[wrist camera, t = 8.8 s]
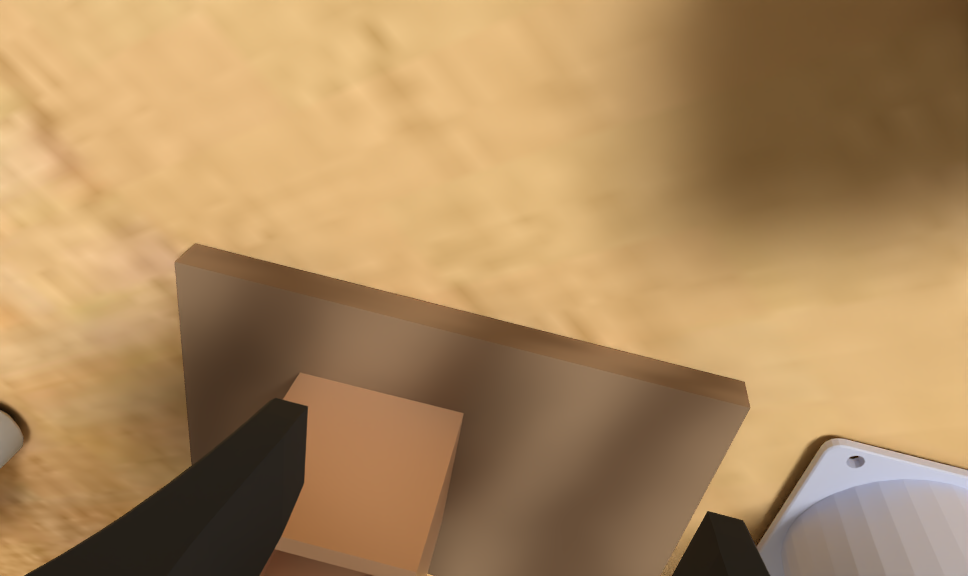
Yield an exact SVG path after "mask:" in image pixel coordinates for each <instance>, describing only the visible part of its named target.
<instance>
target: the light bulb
mask: <svg viewBox="0 0 968 576" xmlns="http://www.w3.org/2000/svg"><path fill="white" fill-rule="evenodd" d="M23 439H24V437H23V435H22V432H21V430H20V428H19V426H18V425H17V424H16V422H15V420H14V419H13V418H12V416H11V415H9V414H8V413H7V412H5V411H3V410H1V409H0V468H2V467H3V466H4V465H5V464H6V463H7V462H8V461H9V460H10V459H11V458H12V457H13V456H14V455H15V454H16V453H17V452H18V451H19V450H20V449H21V448H22V446H23Z"/></svg>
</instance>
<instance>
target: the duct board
mask: <svg viewBox="0 0 968 576" xmlns="http://www.w3.org/2000/svg"><path fill="white" fill-rule="evenodd" d="M175 272H176V284H177V296H178V307H179V319H180V331H181V343H182V355H183V367H184V379H185V390H186V402H187V414H188V426H189V438H190V450H191V462H192V465H193V464H194V463H196V462H197V461H198V460H200V459H201V458H202V457H203V456H205V455H206V454H207V453H209V452H210V451H211V450H212V449H214V448H215V447H216V446H217V445H218V444H220V443H221V442H222V441H223V440H224V439H226V438H227V437H228V436H229V435H231V434H232V433H233V432H234V431H235V430H236V429H238V428H239V427H240V426H241V425H242V424H243V423H245V422H246V421H247V420H248V419H249V418H250V417H252V416H253V415H254V414H255V413H256V412H257V411H258V410H260V409H261V408H262V407H263V406H264V405H265V404H266V403H267V402H269V401H270V400H272V399H274V398H278V399H282V400H283V398H284V397H285V395H286V394H287V392H288V391H289V389H290V387H291V386H292V384H293V383H294V381H295V380H296V378H297V376H298V375H299V373H304V374H308V375H312V376H316V377H320V378H324V379H328V380H332V381H336V382H340V383H344V384H348V385H352V386H356V387H360V388H364V389H368V390H372V391H376V392H380V393H384V394H388V395H392V396H396V397H400V398H405V399H409V400H413V401H417V402H421V403H425V404H429V405H433V406H437V407H441V408H445V409H449V410H453V411H457V412H461V413H464V415H463V420H462V425H461V430H460V435H459V440H458V444H457V449H456V454H455V459H454V464H453V469H452V474H451V479H450V484H449V489H448V494H447V499H446V504H445V509H444V514H443V519H442V523H441V527H440V530H439V534H438V538H437V541H436V545H435V548H434V552H433V555H432V559H431V563H430V566H429V570H428V573H427V574H430V575H434V576H661V574H662V572H663V570H664V568H665V566H666V564H667V562H668V561H669V559H670V557H671V555H672V553H673V551H674V549H675V548H676V546H677V544H678V542H679V540H680V538H681V536H682V534H683V533H684V531H685V529H686V527H687V525H688V523H689V521H690V520H691V518H692V516H693V514H694V512H695V510H696V508H697V506H698V505H699V503H700V501H701V499H702V497H703V495H704V493H705V492H706V490H707V488H708V486H709V484H710V482H711V480H712V478H713V477H714V475H715V473H716V471H717V469H718V467H719V465H720V464H721V462H722V460H723V458H724V456H725V454H726V452H727V450H728V449H729V447H730V445H731V443H732V441H733V439H734V437H735V436H736V434H737V432H738V430H739V428H740V426H741V424H742V422H743V421H744V419H745V417H746V415H747V413H748V411H749V409H750V404H749V400H748V395H747V391H746V386H745V382H742V381H738V380H734V379H730V378H726V377H722V376H718V375H714V374H710V373H706V372H703V371H699V370H695V369H691V368H687V367H683V366H679V365H675V364H671V363H667V362H663V361H659V360H655V359H651V358H647V357H643V356H639V355H635V354H631V353H627V352H623V351H619V350H615V349H611V348H607V347H603V346H599V345H595V344H591V343H587V342H583V341H580V340H576V339H572V338H568V337H564V336H560V335H556V334H552V333H548V332H544V331H540V330H536V329H532V328H528V327H524V326H520V325H516V324H512V323H508V322H504V321H500V320H496V319H492V318H488V317H484V316H480V315H476V314H472V313H468V312H464V311H461V310H457V309H453V308H449V307H445V306H441V305H437V304H433V303H429V302H425V301H421V300H417V299H413V298H409V297H405V296H401V295H397V294H393V293H389V292H385V291H381V290H377V289H373V288H369V287H365V286H361V285H357V284H353V283H349V282H345V281H341V280H338V279H334V278H330V277H326V276H322V275H318V274H314V273H310V272H306V271H302V270H298V269H294V268H290V267H286V266H282V265H278V264H274V263H270V262H266V261H262V260H258V259H254V258H250V257H246V256H242V255H238V254H234V253H230V252H226V251H222V250H219V249H215V248H211V247H207V246H203V245H199V244H194V245H193V246H192V247H191V248H189V249H188V250H187V251H186V252H185V253H184V254H183V255H182V256H181V257H179V258H178V259H177V260H176V261H175Z"/></svg>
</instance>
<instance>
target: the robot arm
mask: <svg viewBox="0 0 968 576" xmlns="http://www.w3.org/2000/svg"><path fill="white" fill-rule="evenodd" d="M307 417H308V406H305V405H301V404H298V403H294V402H290V401H286V400H282V399H278V398H274V399H272V400H270V401H269V402H267V403H266V404H265V405H264V406H263V407H262V408H261V409H260V410H258V411H257V412H256V413H255V414H254V415H253V416H252V417H250V418H249V419H248V420H247V421H246V422H245V423H243V424H242V425H241V426H240V427H239V428H238V429H236V430H235V431H234V432H233V433H232V434H231V435H229V436H228V437H227V438H226V439H224V440H223V441H222V442H221V443H220V444H218V445H217V446H216V447H215V448H214V449H212V450H211V451H210V452H209V453H207V454H206V455H205V456H203V457H202V458H201V459H200V460H198V461H197V462H196V463H194V464H193V465H192V466H191V467H189V468H188V469H187V470H185V471H184V472H183V473H182V474H180V475H179V476H178V477H176V478H175V479H174V480H172V481H171V482H170V483H168V484H167V485H166V486H164V487H163V488H161V489H160V490H159V491H157V492H156V493H154V494H153V495H152V496H150V497H149V498H147V499H146V500H145V501H143V502H142V503H140V504H139V505H137V506H136V507H135V508H133V509H132V510H130V511H129V512H128V513H126V514H125V515H123V516H122V517H120V518H119V519H117V520H116V521H114V522H113V523H111V524H110V525H108V526H107V527H105V528H104V529H102V530H100V531H99V532H97V533H96V534H94V535H93V536H91V537H89V538H88V539H86V540H84V541H83V542H81V543H80V544H78V545H76V546H75V547H73V548H71V549H70V550H68V551H67V552H65V553H63V554H61V555H60V556H58V557H56V558H55V559H53V560H51V561H49V562H47V563H46V564H44V565H42V566H40V567H39V568H37V569H35V570H33V571H32V572H30V573H28V574H26V575H24V576H259V575H260V574H261V572H262V570H263V568H264V567H265V565H266V563H267V561H268V559H269V558H270V556H271V554H272V552H273V551H274V549H275V547H276V545H277V543H278V542H279V540H280V538H281V536H282V534H283V532H284V529H285V527H286V525H287V523H288V520H289V518H290V516H291V513H292V511H293V509H294V506H295V504H296V502H297V499H298V497H299V494H300V492H301V490H302V487H303V485H304V478H305V458H306V438H307ZM852 456H859V457H858V458H854V459H849V458H850V457H852ZM672 576H968V470H965V469H961V468H957V467H953V466H949V465H945V464H941V463H937V462H933V461H929V460H925V459H921V458H917V457H914V456H910V455H906V454H902V453H898V452H894V451H890V450H886V449H882V448H878V447H874V446H870V445H866V444H862V443H859V442H855V441H851V440H847V439H841V438H835V439H830V440H828V441H826V442H825V443H824V444H823V445H822V446H821V447H820V448H819V450H818V452H817V453H816V455H815V456H814V458H813V459H812V461H811V463H810V464H809V466H808V467H807V469H806V470H805V472H804V473H803V475H802V477H801V478H800V480H799V481H798V483H797V484H796V486H795V487H794V489H793V491H792V492H791V494H790V495H789V497H788V498H787V500H786V502H785V503H784V505H783V506H782V508H781V509H780V511H779V512H778V514H777V516H776V517H775V519H774V520H773V522H772V523H771V525H770V527H769V528H768V530H767V531H766V533H765V534H764V536H763V537H762V539H761V541H760V542H759V544H758V545H757V547H756V545H755V543H754V541H753V539H752V537H751V535H750V533H749V531H748V529H747V527H746V525H745V523H744V522H743V520H739V519H736V518H732V517H728V516H724V515H720V514H717V513H713V512H709V511H707V513H706V515H705V517H704V519H703V521H702V522H701V524H700V526H699V528H698V530H697V531H696V533H695V535H694V537H693V539H692V540H691V542H690V544H689V546H688V548H687V550H686V551H685V553H684V555H683V557H682V559H681V560H680V562H679V564H678V566H677V568H676V569H675V571H674V573H673V575H672Z"/></svg>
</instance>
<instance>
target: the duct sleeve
mask: <svg viewBox="0 0 968 576" xmlns="http://www.w3.org/2000/svg"><path fill="white" fill-rule="evenodd" d="M283 400H286V401H290V402H294V403H298V404H301V405H305V406H308V417H307V438H306V458H305V478H304V485H303V487H302V490H301V492H300V494H299V497H298V499H297V502H296V504H295V506H294V509H293V511H292V513H291V516H290V518H289V520H288V523H287V525H286V527H285V529H284V532H283V534H282V536H281V538H280V540H279V542H278V543H277V545H276V547H275V549H274V551H273V552H272V554H271V556H270V558H269V559H268V561H267V563H266V565H265V567H264V568H263V570H262V572H261V574H260V575H259V576H427V573H428V570H429V566H430V563H431V559H432V555H433V552H434V548H435V545H436V541H437V538H438V534H439V530H440V527H441V523H442V519H443V514H444V509H445V504H446V499H447V494H448V489H449V484H450V479H451V474H452V469H453V464H454V459H455V454H456V449H457V444H458V440H459V435H460V430H461V425H462V420H463V415H464V413H461V412H457V411H453V410H449V409H445V408H441V407H437V406H433V405H429V404H425V403H421V402H417V401H413V400H409V399H405V398H400V397H396V396H392V395H388V394H384V393H380V392H376V391H372V390H368V389H364V388H360V387H356V386H352V385H348V384H344V383H340V382H336V381H332V380H328V379H324V378H320V377H316V376H312V375H308V374H304V373H299V375H298V376H297V378H296V380H295V381H294V383H293V384H292V386H291V387H290V389H289V391H288V392H287V394H286V395H285V397H284V398H283Z"/></svg>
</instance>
